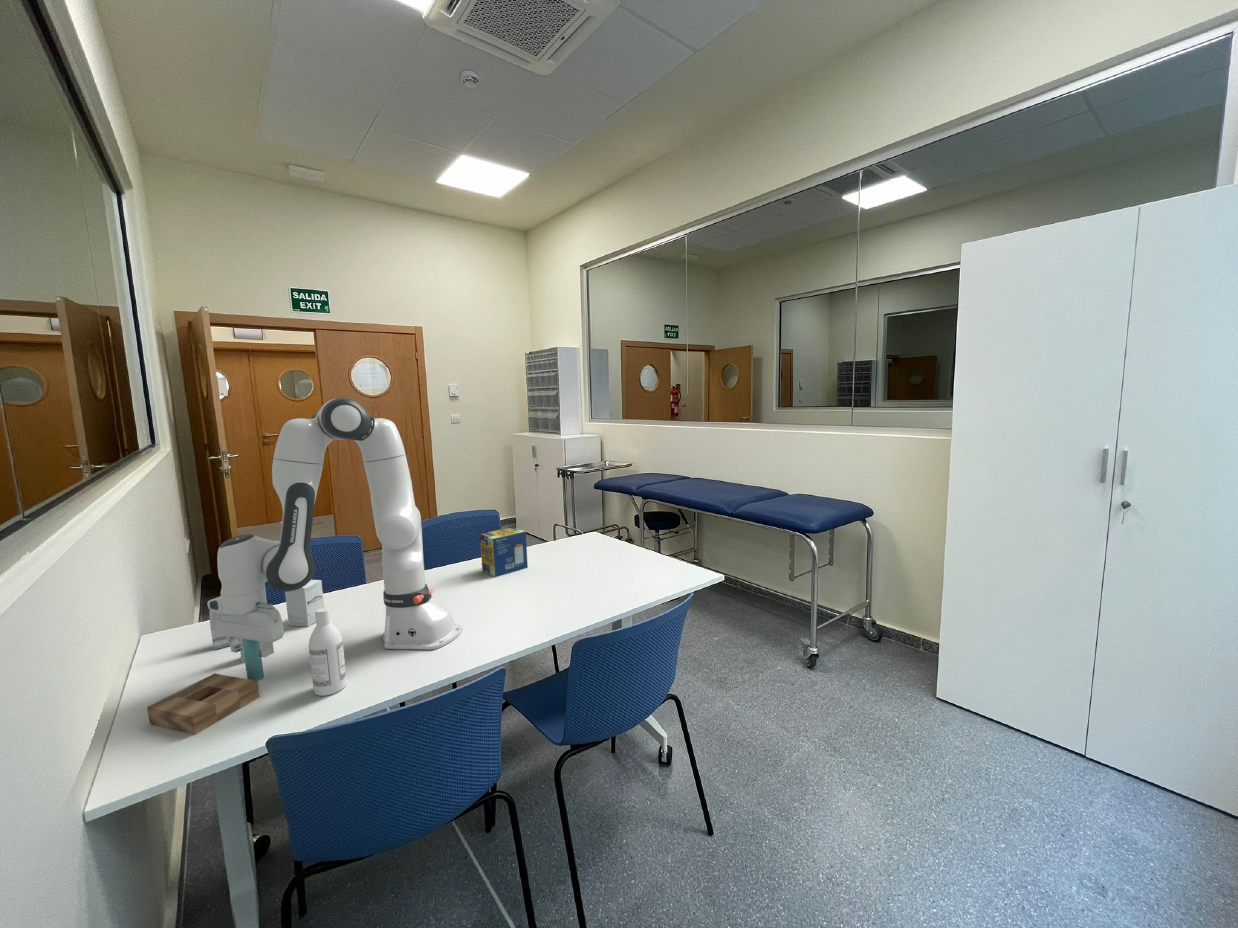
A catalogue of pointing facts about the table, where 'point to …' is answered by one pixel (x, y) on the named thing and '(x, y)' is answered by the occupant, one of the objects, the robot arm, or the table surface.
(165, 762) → the table surface
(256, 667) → the peg
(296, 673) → the table surface
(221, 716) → the socket block
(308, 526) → the robot arm
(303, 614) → the supplement box
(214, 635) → the label tape box
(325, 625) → the bath foam
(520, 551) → the protein box
